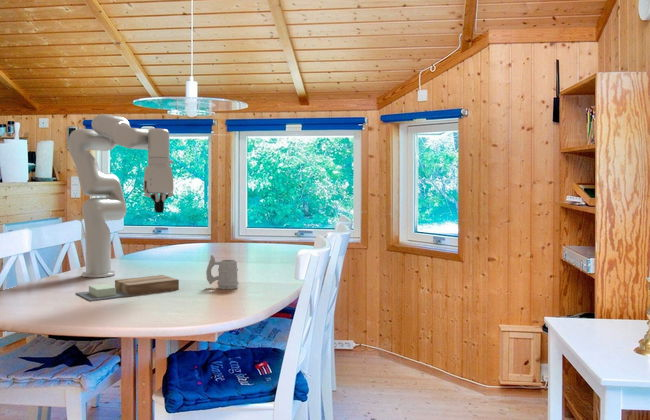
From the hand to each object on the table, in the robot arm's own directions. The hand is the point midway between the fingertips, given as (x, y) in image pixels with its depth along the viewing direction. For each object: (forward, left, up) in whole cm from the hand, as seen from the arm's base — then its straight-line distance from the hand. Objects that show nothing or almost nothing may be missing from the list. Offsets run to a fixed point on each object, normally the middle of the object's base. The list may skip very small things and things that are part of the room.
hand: (159, 212), depth 207 cm
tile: (+5, -23, -25) cm, 34 cm away
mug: (+18, +16, -27) cm, 36 cm away
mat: (+5, -22, -27) cm, 35 cm away
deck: (+5, -7, -27) cm, 28 cm away
